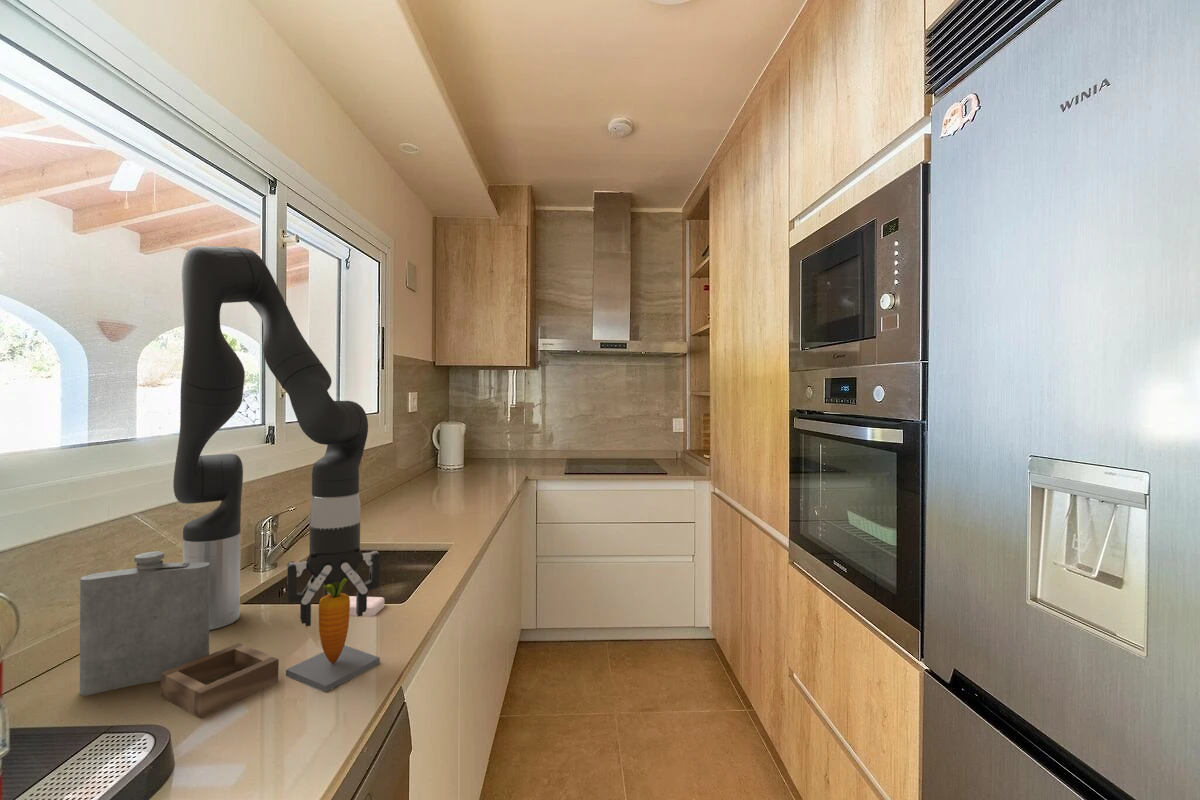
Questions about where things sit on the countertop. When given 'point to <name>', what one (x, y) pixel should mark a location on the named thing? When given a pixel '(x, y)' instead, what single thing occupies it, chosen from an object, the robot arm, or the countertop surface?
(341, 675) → the mat
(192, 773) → the countertop surface
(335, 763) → the countertop surface
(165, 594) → the hip flask
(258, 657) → the socket collar
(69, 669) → the countertop surface
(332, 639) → the carrot
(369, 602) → the soap bar
